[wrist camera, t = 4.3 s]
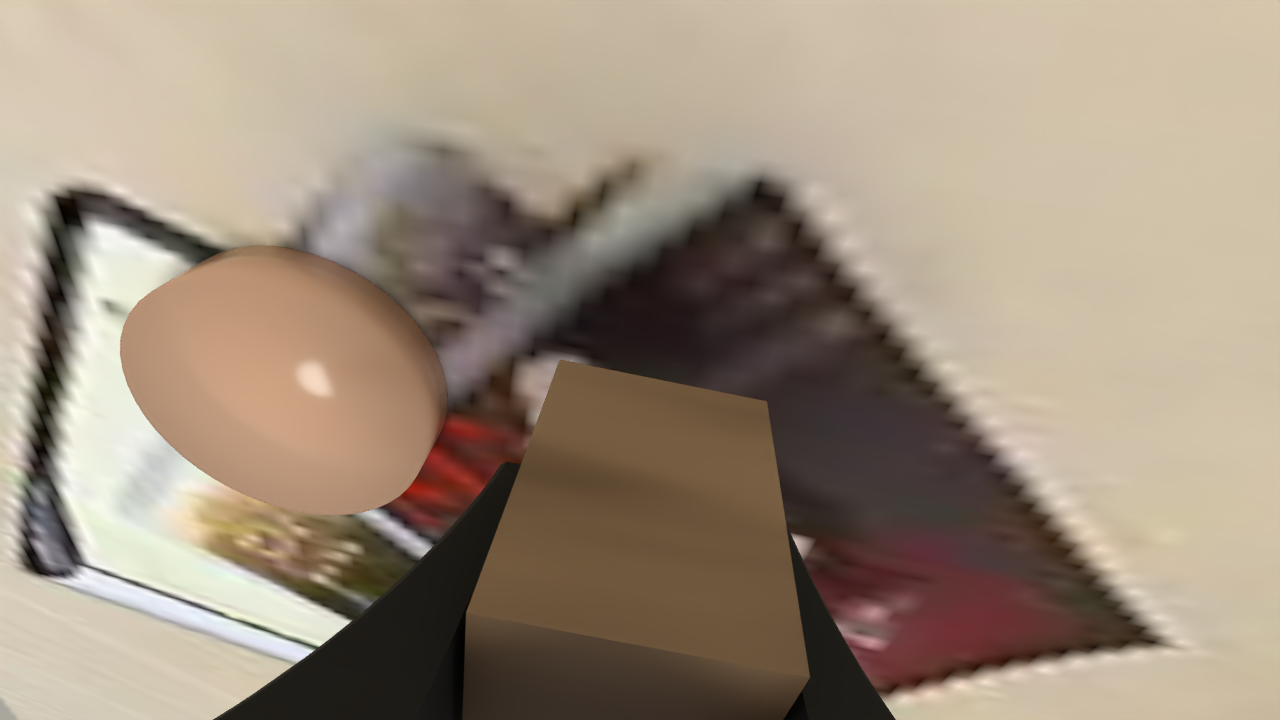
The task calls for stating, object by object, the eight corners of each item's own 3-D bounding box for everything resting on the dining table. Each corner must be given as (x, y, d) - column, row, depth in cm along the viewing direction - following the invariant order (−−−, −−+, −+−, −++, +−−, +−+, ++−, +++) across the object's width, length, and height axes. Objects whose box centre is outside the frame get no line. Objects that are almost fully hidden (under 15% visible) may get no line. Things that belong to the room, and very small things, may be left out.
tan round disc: (452, 487, 25) (429, 535, 23) (214, 444, 25) (169, 488, 23) (448, 274, 19) (417, 312, 17) (140, 216, 19) (72, 248, 17)
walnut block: (714, 538, 15) (721, 817, 10) (541, 505, 15) (460, 770, 10) (767, 401, 13) (809, 676, 8) (559, 359, 13) (466, 612, 8)
